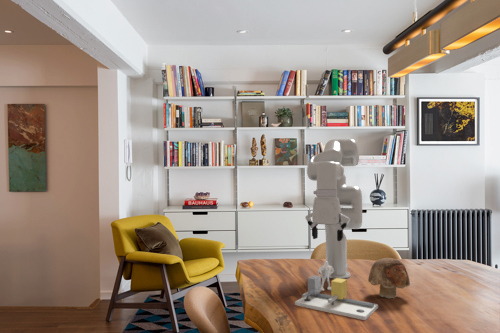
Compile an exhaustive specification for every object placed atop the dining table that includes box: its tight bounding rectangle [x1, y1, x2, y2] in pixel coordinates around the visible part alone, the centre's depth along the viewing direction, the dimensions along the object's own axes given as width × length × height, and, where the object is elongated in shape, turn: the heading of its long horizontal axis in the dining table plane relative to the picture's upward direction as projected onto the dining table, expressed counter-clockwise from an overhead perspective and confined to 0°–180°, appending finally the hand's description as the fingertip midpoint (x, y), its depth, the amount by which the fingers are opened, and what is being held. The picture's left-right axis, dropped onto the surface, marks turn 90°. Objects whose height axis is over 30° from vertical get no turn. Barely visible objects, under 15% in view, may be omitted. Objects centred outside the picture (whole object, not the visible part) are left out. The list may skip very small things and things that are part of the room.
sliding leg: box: [328, 278, 348, 305], centre depth 140 cm, size 12×4×7 cm, turn 145°
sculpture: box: [367, 257, 411, 299], centre depth 150 cm, size 15×16×15 cm
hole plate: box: [294, 296, 379, 321], centre depth 140 cm, size 14×26×1 cm, turn 55°
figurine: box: [317, 260, 334, 292], centre depth 160 cm, size 7×4×12 cm, turn 108°
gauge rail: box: [301, 274, 375, 308], centre depth 140 cm, size 12×25×7 cm, turn 55°
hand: (327, 239), depth 146 cm, fingers open, 9 cm apart
